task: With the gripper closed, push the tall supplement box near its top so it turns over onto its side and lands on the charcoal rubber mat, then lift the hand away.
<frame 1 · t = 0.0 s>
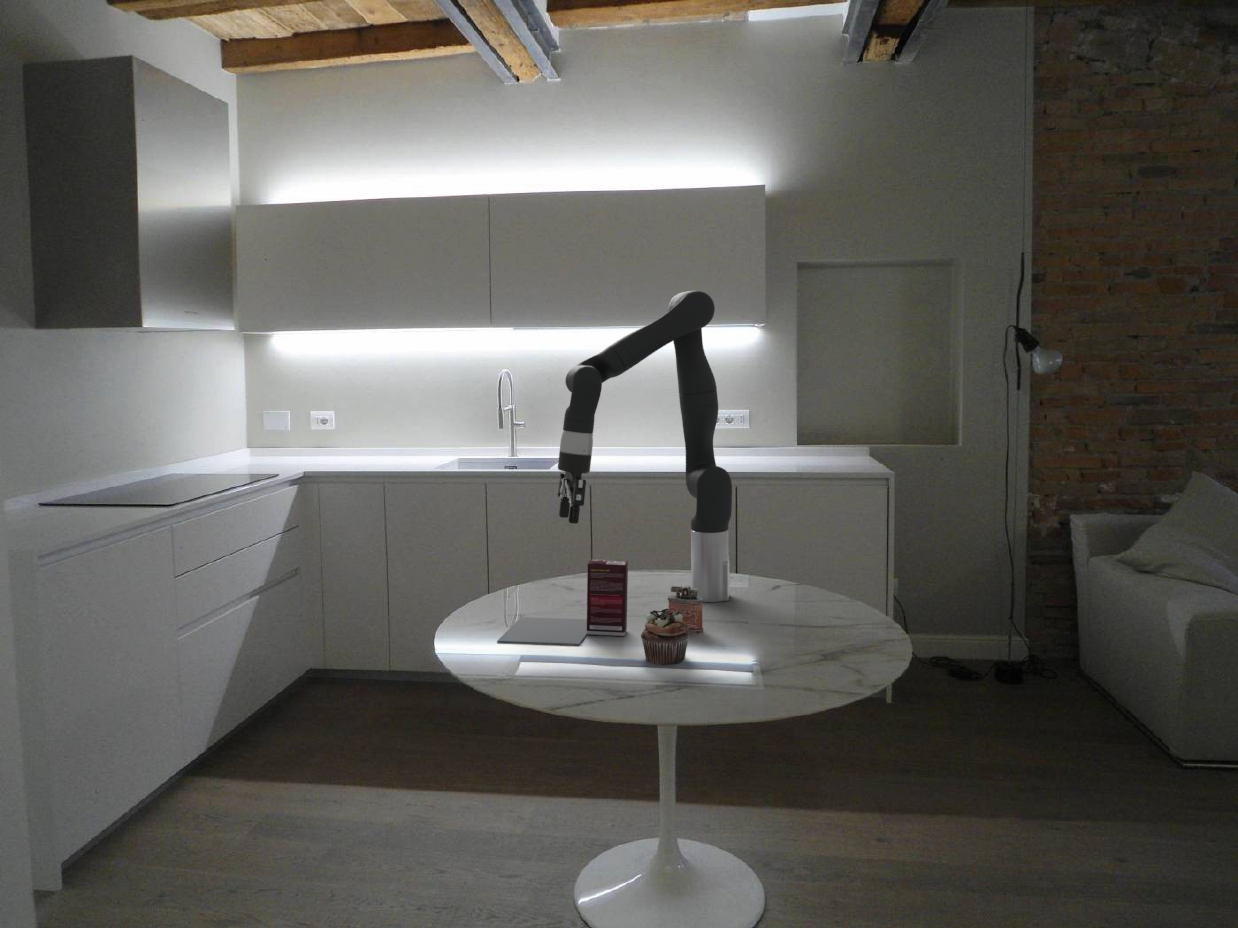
hand: (568, 520, 218), 22 cm above the table, tool pointing down, fingers open, 8 cm apart
supplement box: (606, 633, 205), on the table, touching mat
lighter: (685, 631, 206), on the table
mat: (548, 631, 207), on the table
cupcake: (665, 659, 187), on the table
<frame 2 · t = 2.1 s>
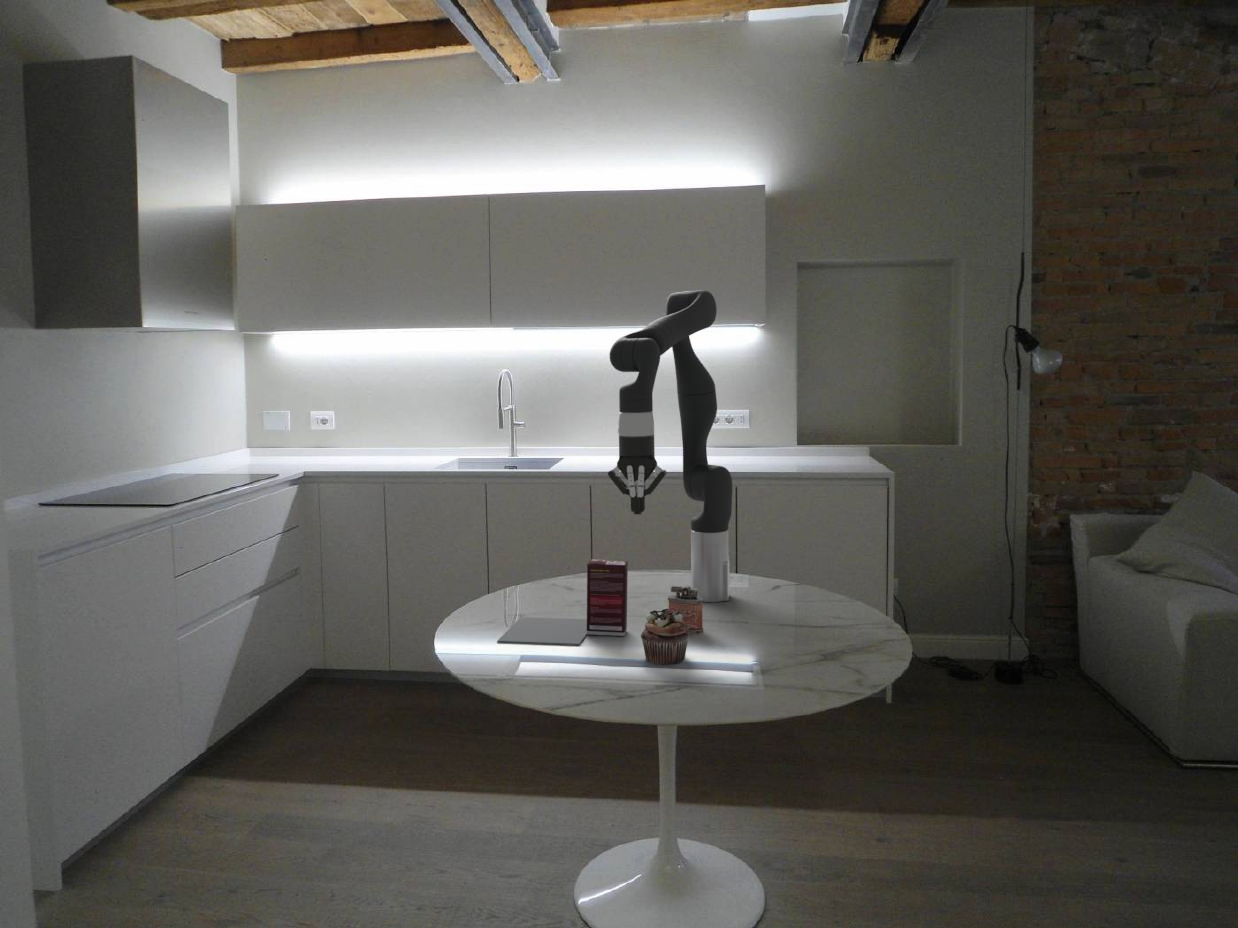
hand: (637, 513, 200), 27 cm above the table, tool pointing down, fingers closed
nothing on the table moved.
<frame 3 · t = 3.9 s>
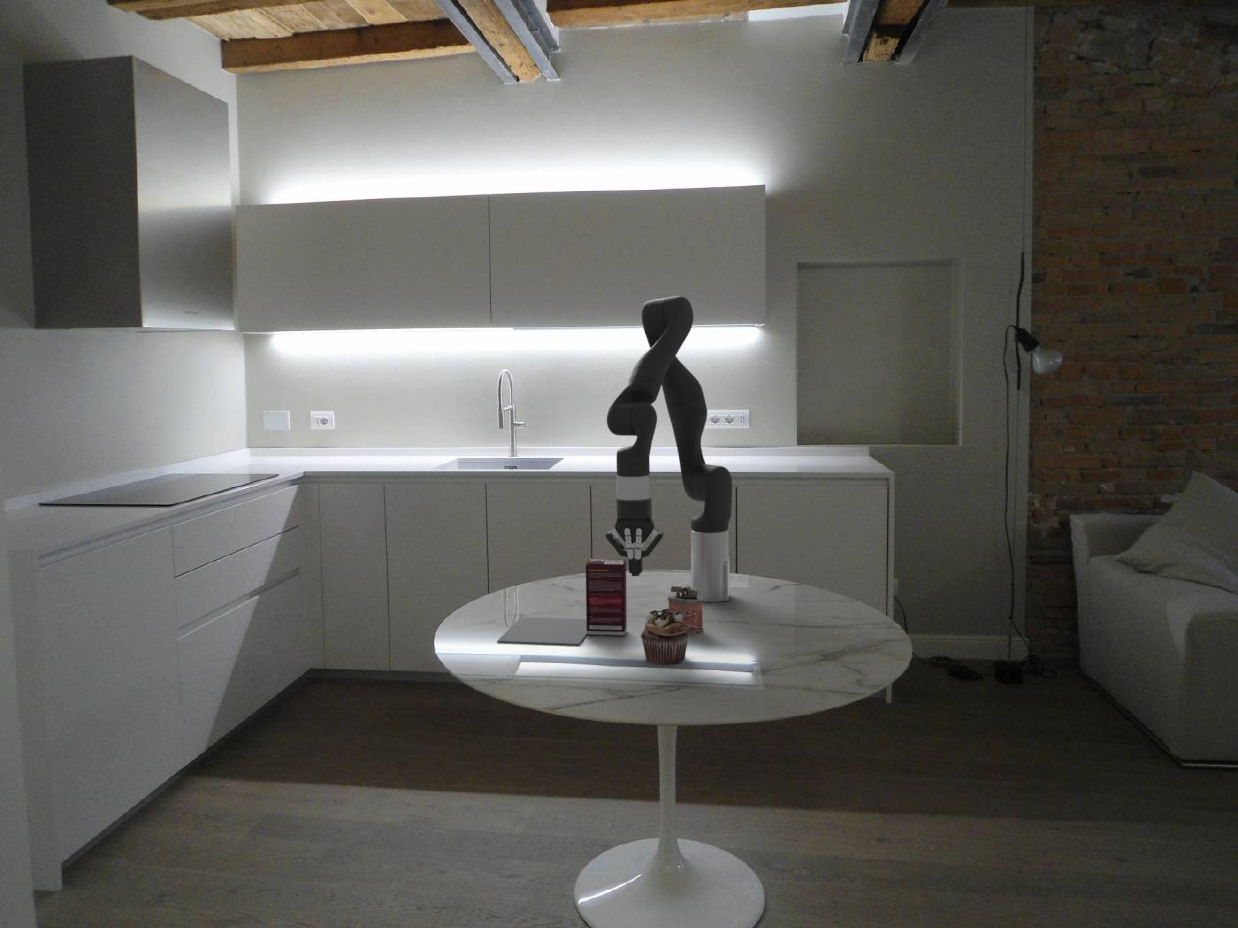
hand: (635, 575, 202), 13 cm above the table, tool pointing down, fingers closed
supplement box: (606, 632, 205), on the table, touching gripper, mat
everything else where it was.
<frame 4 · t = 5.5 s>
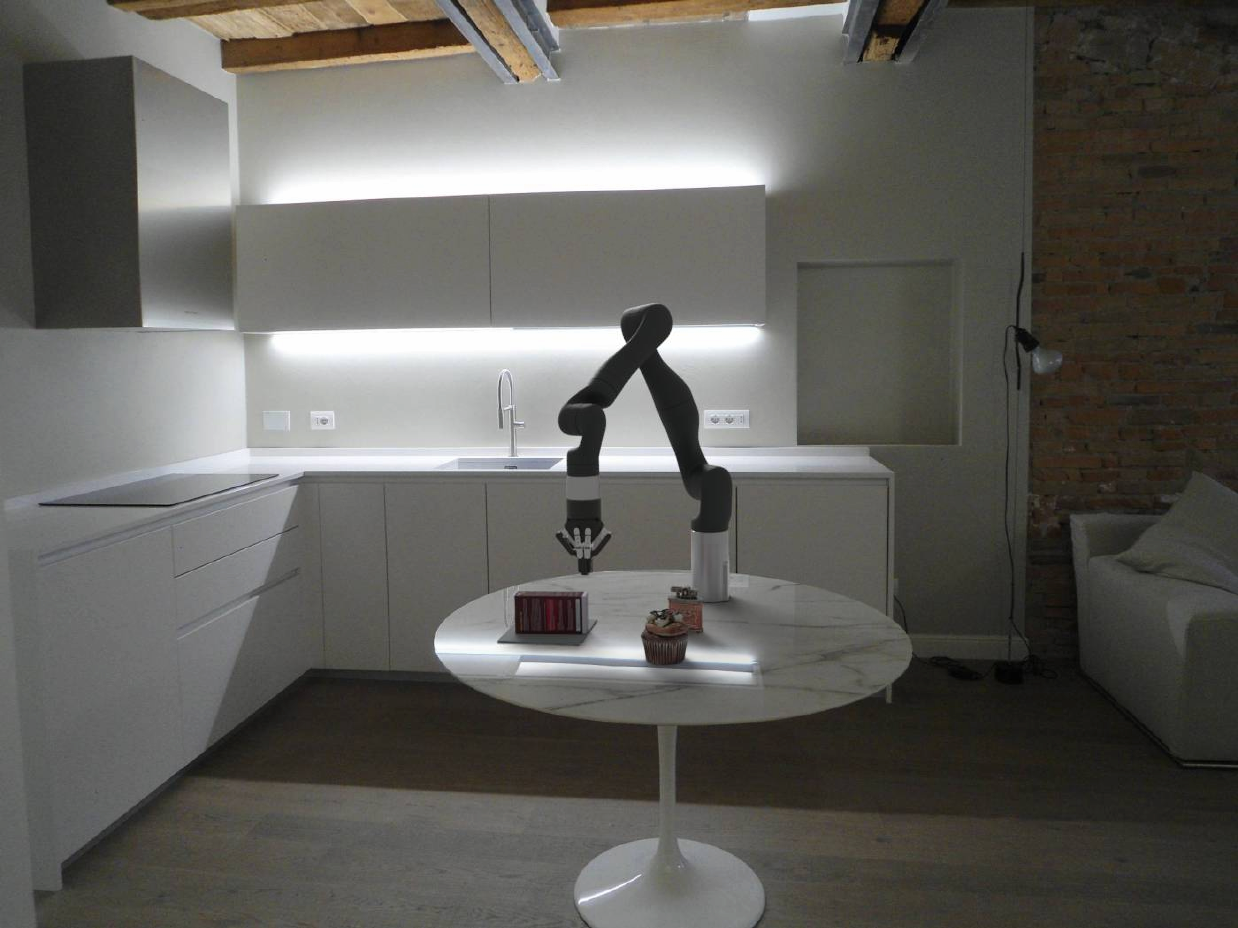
hand: (585, 574, 204), 13 cm above the table, tool pointing down, fingers closed
supplement box: (588, 612, 205), point 5 cm above the table, touching mat
everything else where it was.
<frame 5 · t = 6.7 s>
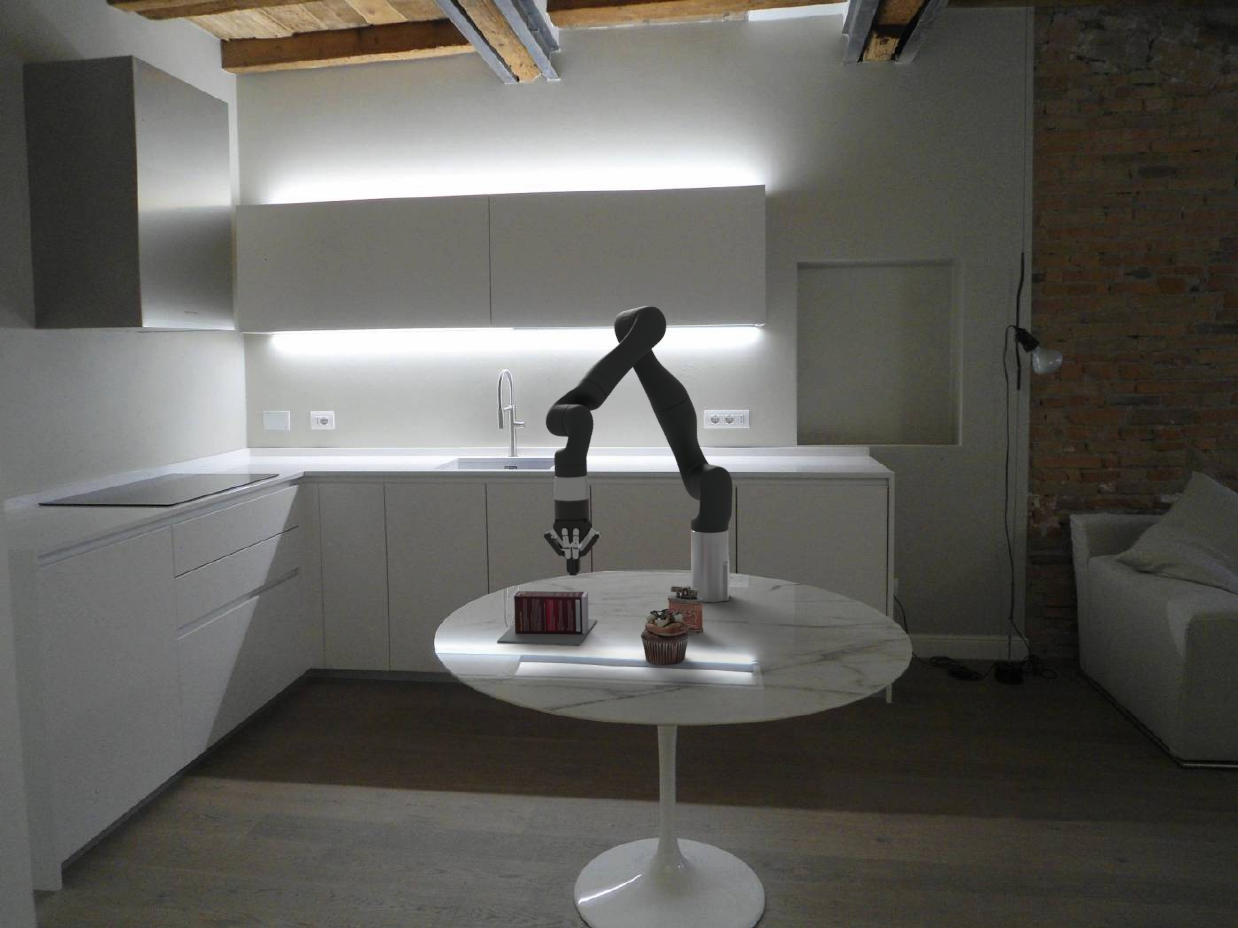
hand: (573, 574, 204), 13 cm above the table, tool pointing down, fingers closed
nothing on the table moved.
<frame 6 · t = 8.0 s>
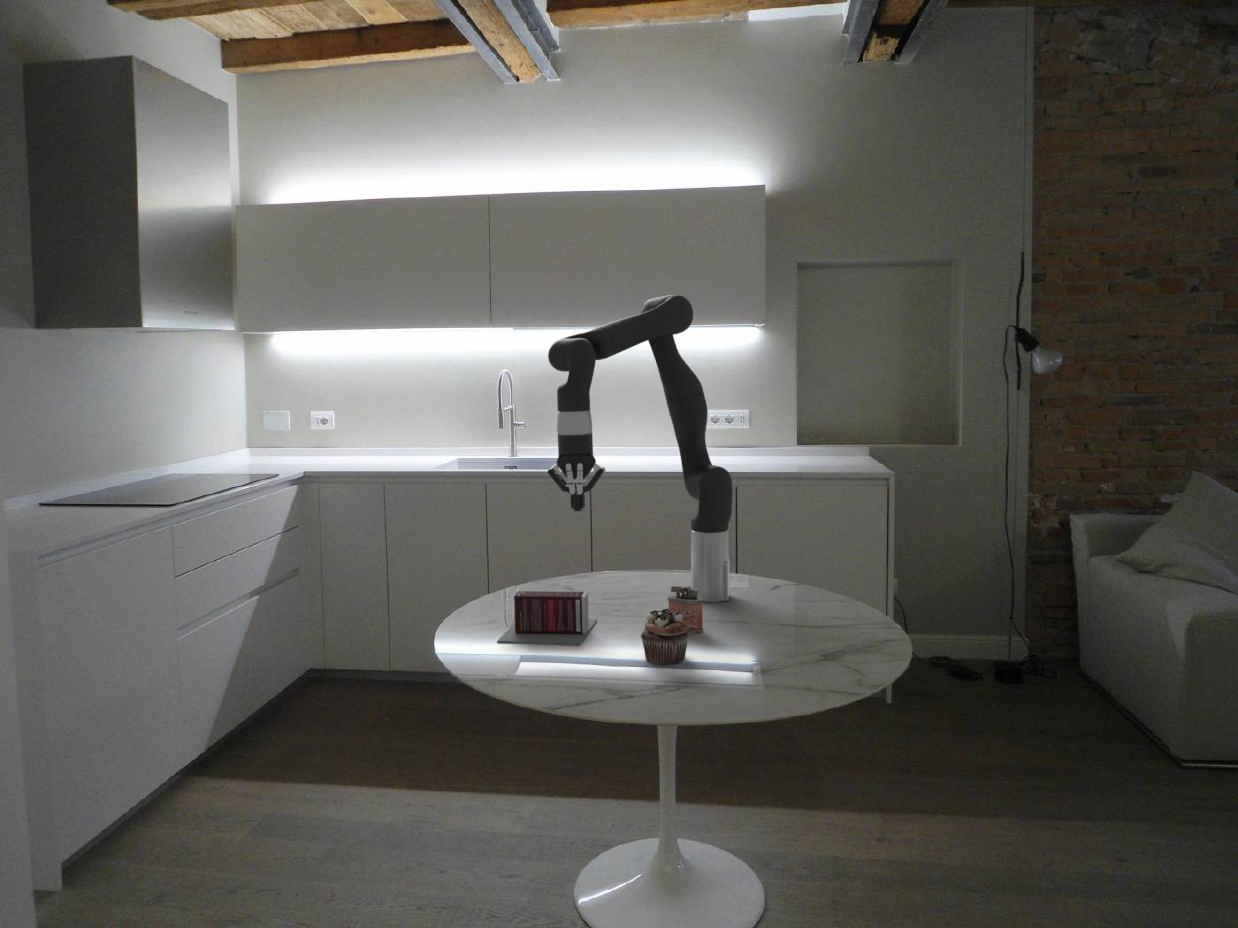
hand: (578, 510, 204), 27 cm above the table, tool pointing down, fingers closed
nothing on the table moved.
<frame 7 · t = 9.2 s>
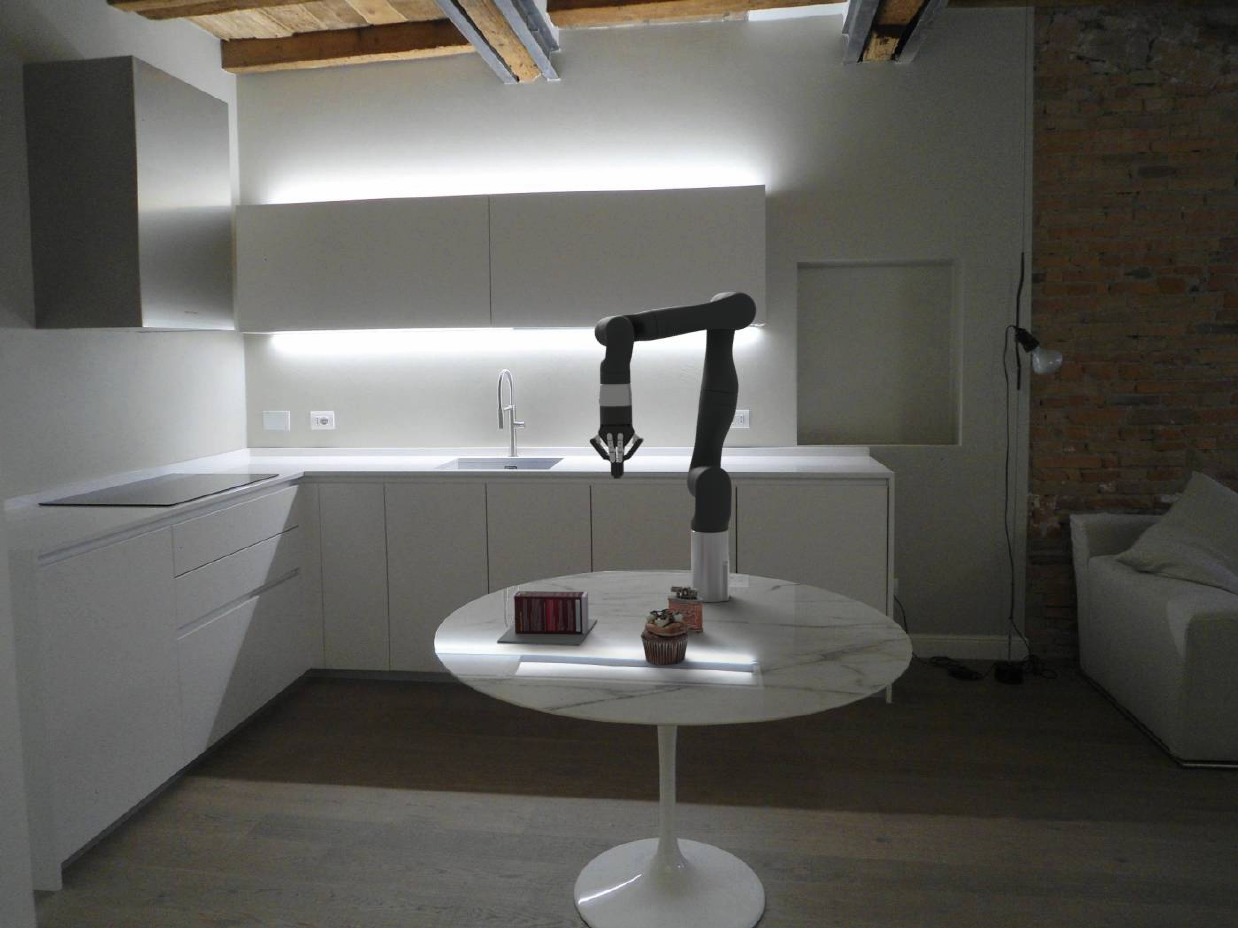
hand: (617, 478, 218), 32 cm above the table, tool pointing down, fingers closed
nothing on the table moved.
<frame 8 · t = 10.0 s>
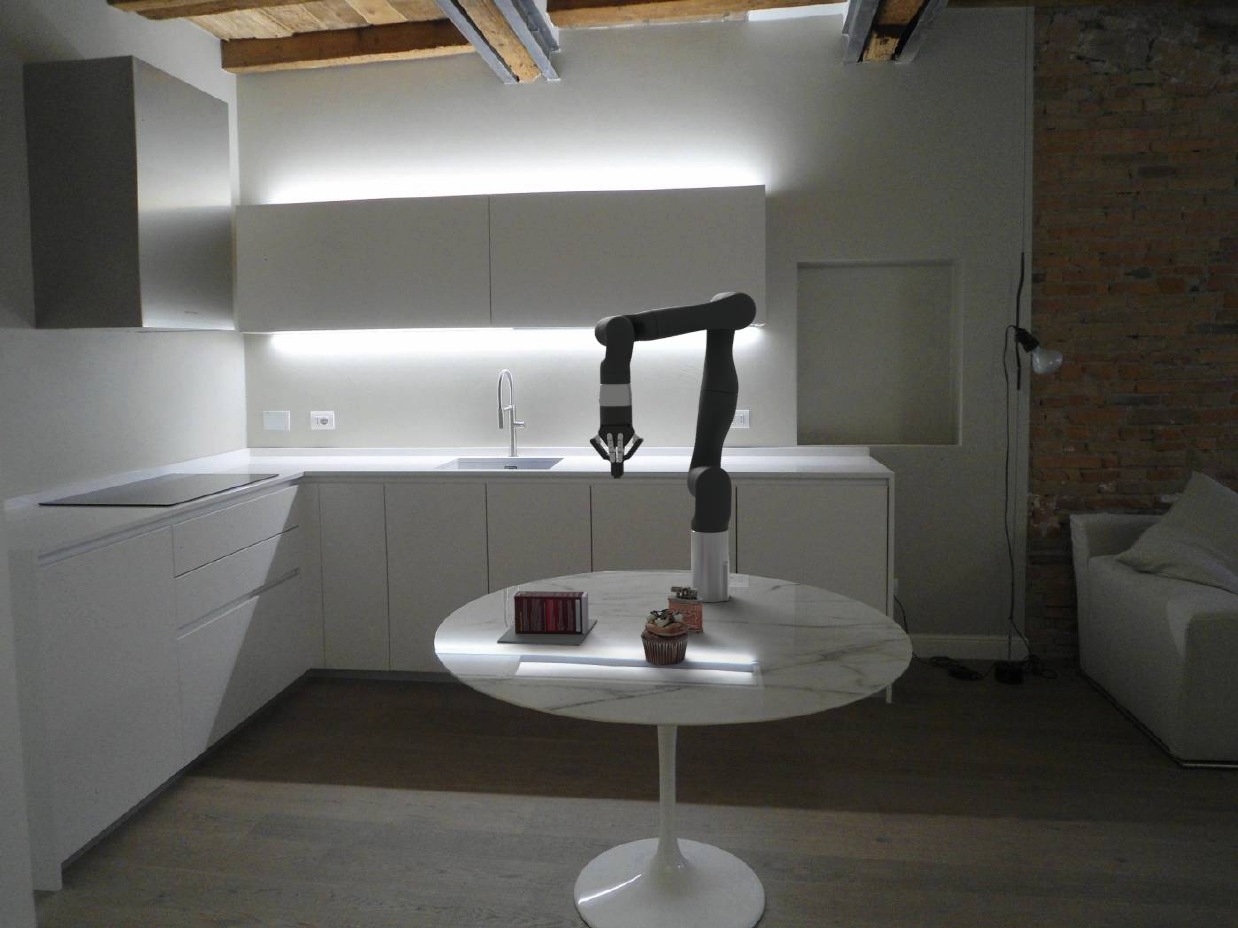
hand: (617, 478, 218), 32 cm above the table, tool pointing down, fingers closed
nothing on the table moved.
at the end: supplement box tilted 89°; supplement box inside the target area (2.2 cm from its centre), point 4.5 cm above the table; supplement box touching mat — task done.
